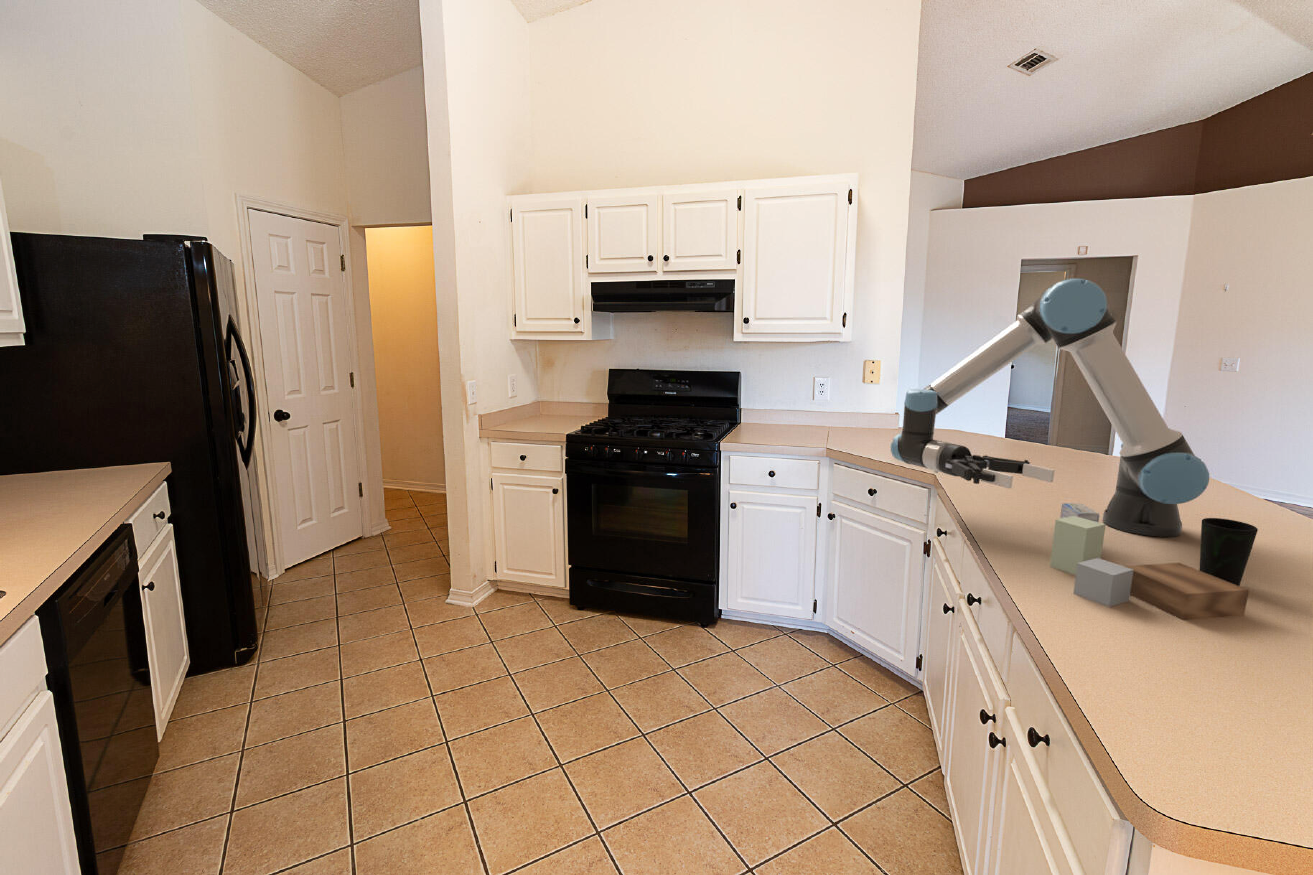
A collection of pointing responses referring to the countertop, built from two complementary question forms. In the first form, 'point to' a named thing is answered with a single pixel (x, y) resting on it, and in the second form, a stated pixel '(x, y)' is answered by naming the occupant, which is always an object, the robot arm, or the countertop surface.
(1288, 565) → the countertop surface
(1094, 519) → the medicine box
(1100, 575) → the grey block
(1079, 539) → the sage block
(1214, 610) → the walnut block
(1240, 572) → the cup
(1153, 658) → the countertop surface
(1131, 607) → the countertop surface
